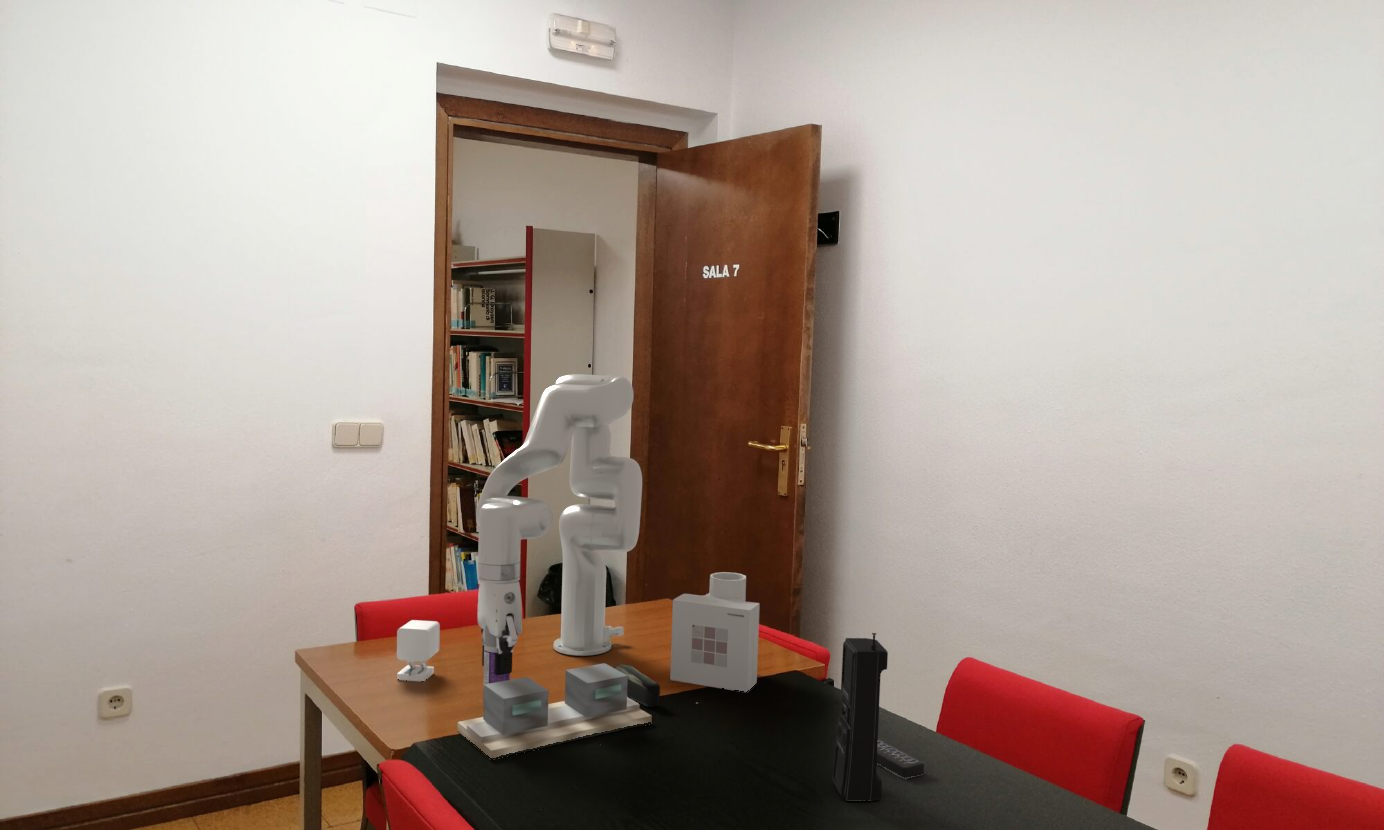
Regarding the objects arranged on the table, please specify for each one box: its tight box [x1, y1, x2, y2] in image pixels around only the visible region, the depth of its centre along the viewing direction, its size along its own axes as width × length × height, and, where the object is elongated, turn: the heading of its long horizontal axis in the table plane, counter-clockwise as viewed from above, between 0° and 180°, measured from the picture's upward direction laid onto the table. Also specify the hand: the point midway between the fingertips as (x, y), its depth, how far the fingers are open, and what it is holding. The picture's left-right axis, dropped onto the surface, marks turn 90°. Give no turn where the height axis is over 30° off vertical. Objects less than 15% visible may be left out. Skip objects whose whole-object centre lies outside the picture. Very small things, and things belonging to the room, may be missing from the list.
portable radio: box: [832, 632, 889, 801], centre depth 147 cm, size 8×6×25 cm
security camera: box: [396, 619, 441, 682], centre depth 193 cm, size 6×7×10 cm
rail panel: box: [457, 662, 653, 759], centre depth 168 cm, size 30×14×8 cm, turn 125°
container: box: [482, 625, 511, 705], centre depth 179 cm, size 5×5×15 cm
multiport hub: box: [877, 738, 925, 778], centre depth 159 cm, size 4×14×2 cm, turn 30°
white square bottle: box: [669, 571, 760, 693], centre depth 200 cm, size 16×19×20 cm
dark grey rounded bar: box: [614, 664, 661, 708], centre depth 185 cm, size 5×3×15 cm
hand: (496, 668), depth 179 cm, fingers closed on container, 4 cm apart
